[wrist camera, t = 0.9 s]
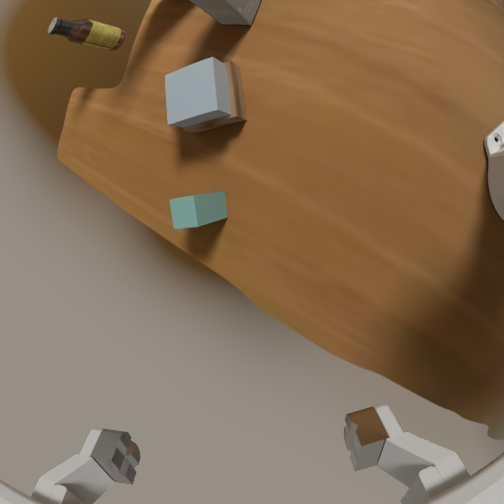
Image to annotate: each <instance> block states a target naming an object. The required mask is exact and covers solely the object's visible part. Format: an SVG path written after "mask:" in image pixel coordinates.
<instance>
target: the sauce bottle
mask: <svg viewBox="0 0 504 504" xmlns="http://www.w3.org/2000/svg"><path fill="white" fill-rule="evenodd" d="M48 34H58V35H62V36H65V37H67V38H68V40H69V41H71V42H76V43H80V44H84V45H89V46H93V47H98V48H102V49H106V50H116V49H117V48H119V47H120V46H121V44H122V42H123V41H124V39H125V31H123V30H121V29H120V28H117V27H114V26H110V25H107V24H104V23H100V22H96V21H93V20H88V19H82V20H72V21H70V20H65V19H61V18H54V19H53V21H52V23H51V24H50V26H49V29H48Z"/></svg>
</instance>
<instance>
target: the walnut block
mask: <svg viewBox="0 0 504 504" xmlns="http://www.w3.org/2000/svg"><path fill="white" fill-rule="evenodd" d="M224 64H225V65H226V74H227V83H228V92H229V101H230V110H231V115H227V116H223V117H220V118H216V119H212V120H208V121H205V122H201V123H198V124H194V125H191V126H188V127H184V128H183V131H185V132H191V133H198V132H202V131H206V130H209V129H213V128H217V127H221V126H225V125H229V124H233V123H237V122H241V121H246V120H247V117H246V110H245V102H244V95H243V87H242V80H241V73H240V67H238V66H237V65H235V64H234V63H232V62H231V61H227V62H224Z"/></svg>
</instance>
